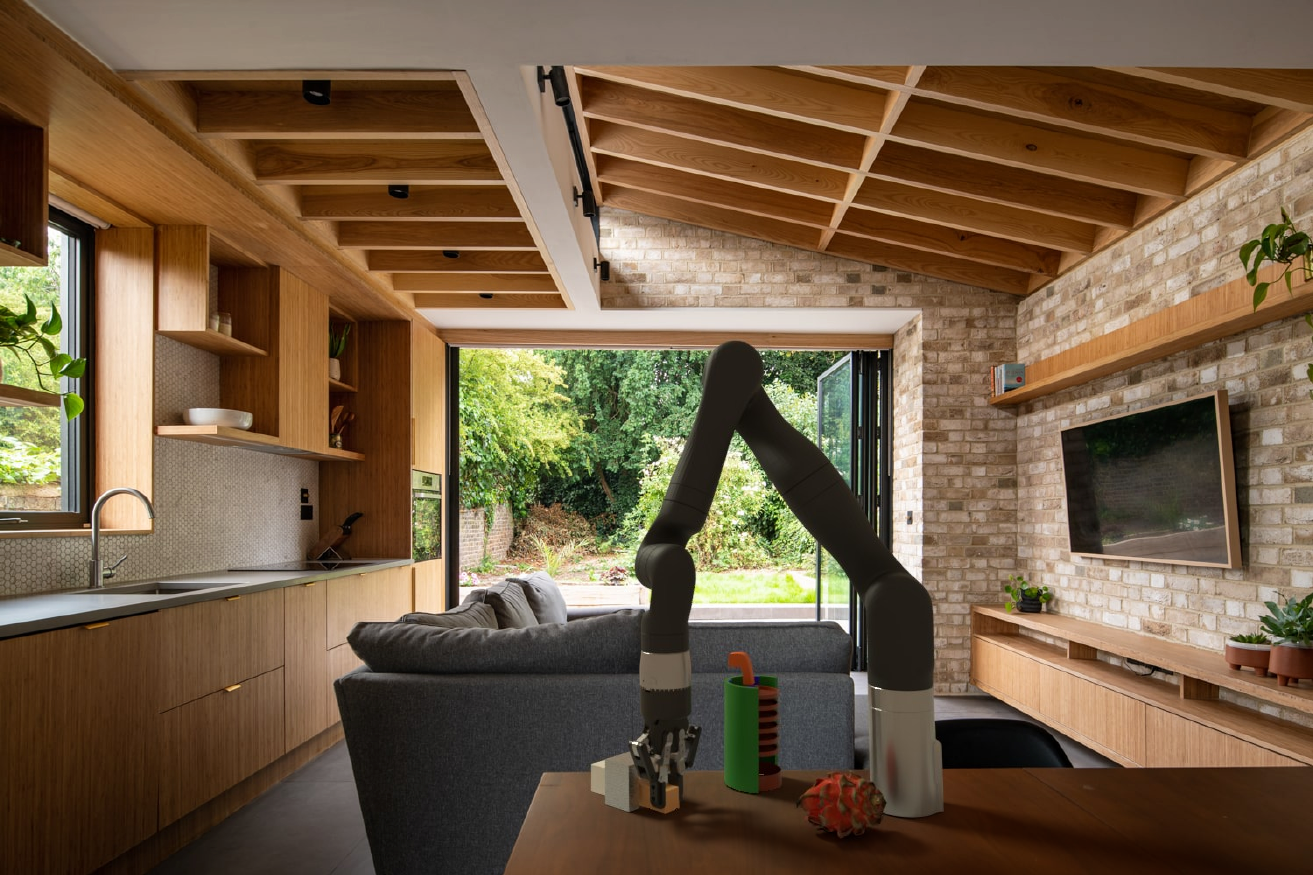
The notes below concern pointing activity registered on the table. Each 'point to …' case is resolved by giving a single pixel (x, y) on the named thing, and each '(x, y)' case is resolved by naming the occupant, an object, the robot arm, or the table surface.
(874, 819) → the dragon fruit
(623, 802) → the block
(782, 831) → the table surface
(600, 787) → the plug
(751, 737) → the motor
